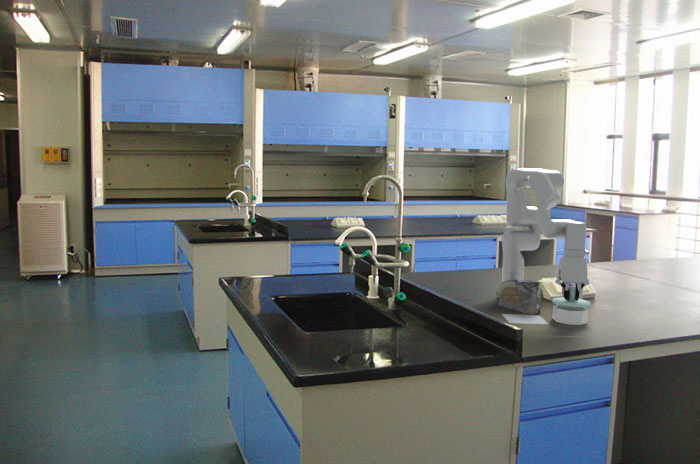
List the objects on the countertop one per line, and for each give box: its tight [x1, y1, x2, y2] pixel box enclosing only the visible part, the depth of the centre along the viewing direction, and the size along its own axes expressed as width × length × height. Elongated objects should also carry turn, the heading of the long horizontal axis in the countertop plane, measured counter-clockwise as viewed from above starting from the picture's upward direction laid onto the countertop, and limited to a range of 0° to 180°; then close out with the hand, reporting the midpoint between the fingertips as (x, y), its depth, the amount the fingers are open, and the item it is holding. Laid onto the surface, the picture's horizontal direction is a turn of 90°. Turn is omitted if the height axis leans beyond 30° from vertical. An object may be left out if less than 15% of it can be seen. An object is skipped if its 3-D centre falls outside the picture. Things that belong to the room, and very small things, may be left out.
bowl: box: [551, 304, 589, 326], centre depth 227 cm, size 12×12×6 cm
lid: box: [551, 286, 592, 308], centre depth 226 cm, size 14×14×6 cm
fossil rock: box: [495, 279, 544, 315], centre depth 245 cm, size 20×9×15 cm, turn 32°
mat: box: [501, 313, 550, 325], centre depth 228 cm, size 14×15×1 cm
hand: (571, 299), depth 226 cm, fingers closed on lid, 2 cm apart
